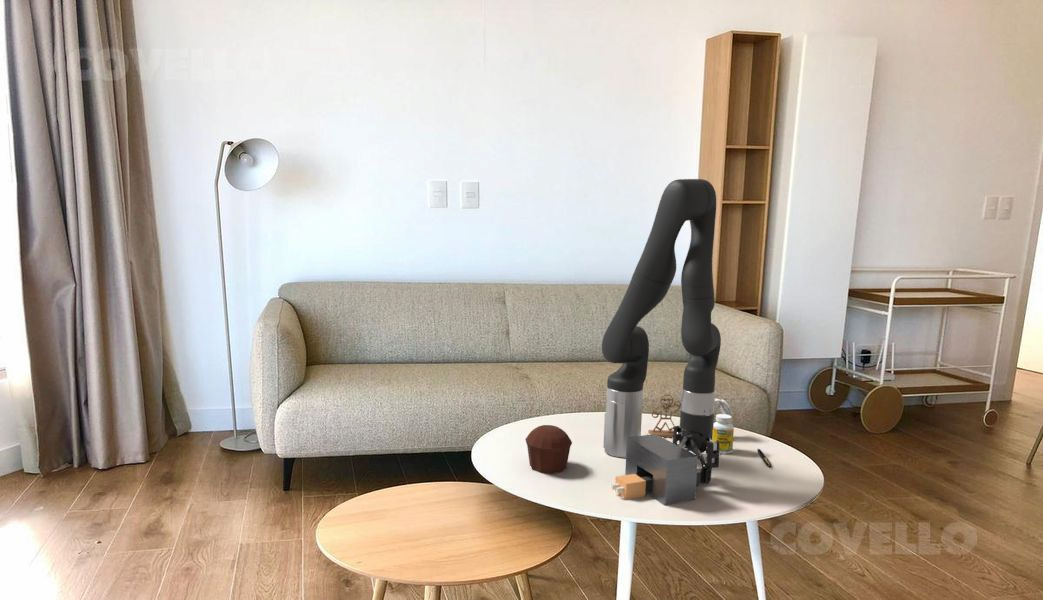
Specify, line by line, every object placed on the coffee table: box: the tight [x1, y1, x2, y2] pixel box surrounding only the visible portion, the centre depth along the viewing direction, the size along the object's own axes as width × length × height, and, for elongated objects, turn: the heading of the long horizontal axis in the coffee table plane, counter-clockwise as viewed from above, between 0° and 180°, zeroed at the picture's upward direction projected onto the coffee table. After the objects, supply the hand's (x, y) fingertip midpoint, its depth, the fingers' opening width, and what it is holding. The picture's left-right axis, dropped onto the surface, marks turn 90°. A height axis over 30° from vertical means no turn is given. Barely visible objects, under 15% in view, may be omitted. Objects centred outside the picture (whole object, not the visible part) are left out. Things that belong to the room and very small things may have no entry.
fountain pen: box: [757, 448, 772, 469], centre depth 178 cm, size 14×1×2 cm, turn 173°
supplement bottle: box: [711, 413, 735, 455], centre depth 183 cm, size 5×5×10 cm
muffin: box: [525, 424, 573, 475], centre depth 168 cm, size 12×11×10 cm
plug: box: [610, 467, 703, 500], centre depth 156 cm, size 4×25×4 cm, turn 113°
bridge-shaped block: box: [624, 434, 699, 506], centre depth 156 cm, size 16×8×10 cm, turn 23°
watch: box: [709, 397, 733, 440], centre depth 194 cm, size 6×8×11 cm
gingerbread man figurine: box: [647, 393, 681, 437], centre depth 194 cm, size 9×4×12 cm, turn 90°
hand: (693, 476), depth 160 cm, fingers open, 8 cm apart
